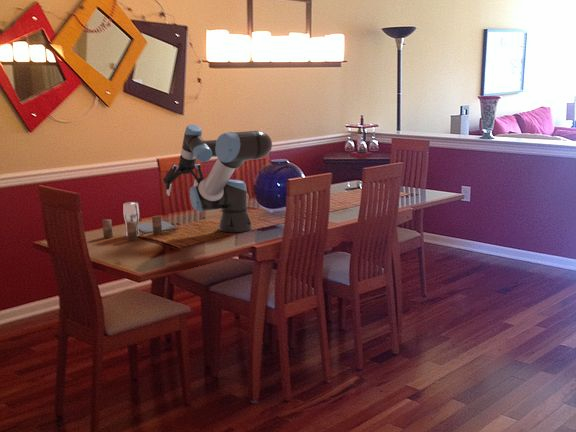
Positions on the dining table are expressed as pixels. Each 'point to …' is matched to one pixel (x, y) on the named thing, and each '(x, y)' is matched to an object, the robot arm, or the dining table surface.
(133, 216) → the beer glass
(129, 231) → the walnut spacer posts
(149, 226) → the slate mat
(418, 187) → the dining table surface
